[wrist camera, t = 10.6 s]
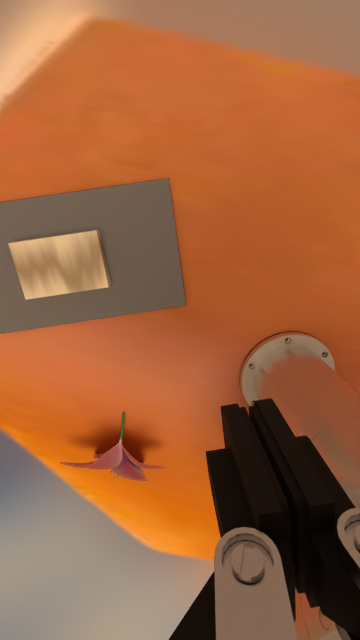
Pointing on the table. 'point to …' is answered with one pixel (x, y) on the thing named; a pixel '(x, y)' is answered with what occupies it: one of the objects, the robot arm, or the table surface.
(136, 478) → the lily
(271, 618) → the robot arm
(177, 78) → the table surface
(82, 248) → the tile
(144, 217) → the mat
